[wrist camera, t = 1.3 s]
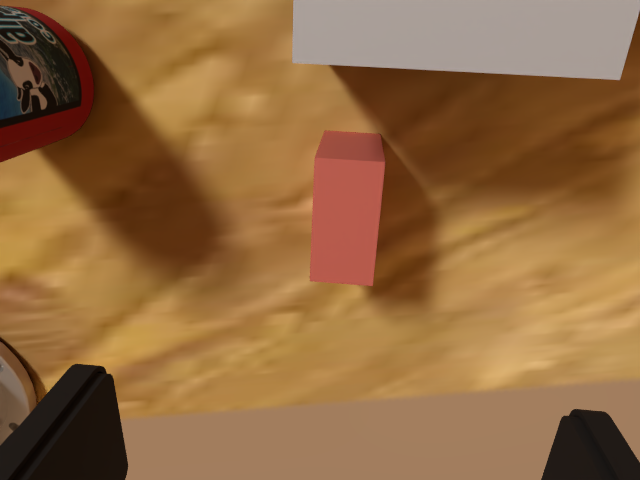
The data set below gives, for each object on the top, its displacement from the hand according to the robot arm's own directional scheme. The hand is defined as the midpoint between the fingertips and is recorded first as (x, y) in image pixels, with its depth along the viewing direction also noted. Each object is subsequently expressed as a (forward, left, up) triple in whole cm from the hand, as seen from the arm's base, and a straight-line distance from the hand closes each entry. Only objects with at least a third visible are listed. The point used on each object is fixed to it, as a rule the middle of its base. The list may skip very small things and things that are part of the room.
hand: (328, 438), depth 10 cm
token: (0, 0, -18) cm, 18 cm away
